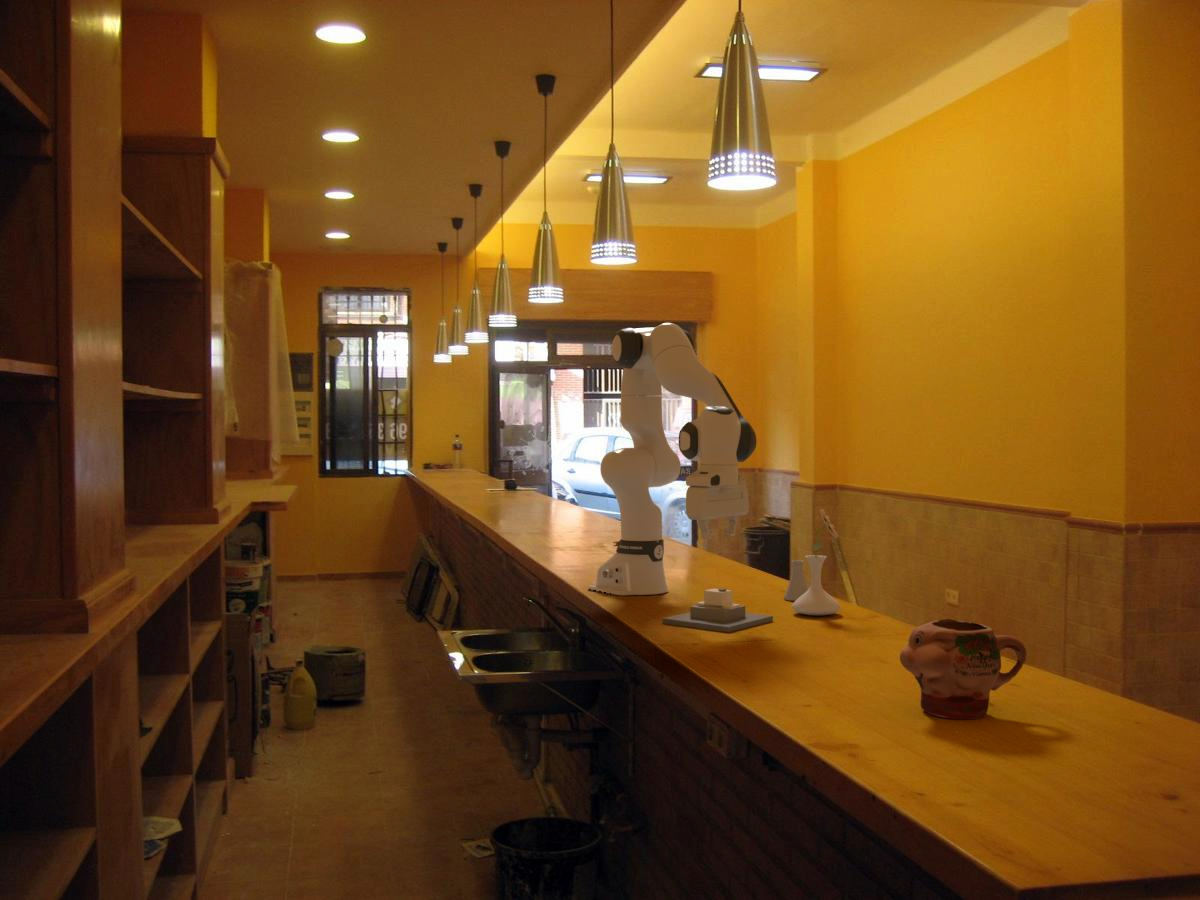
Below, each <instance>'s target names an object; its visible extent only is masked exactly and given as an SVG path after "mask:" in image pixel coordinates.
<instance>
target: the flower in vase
mask: <svg viewBox="0 0 1200 900" xmlns="http://www.w3.org/2000/svg"><path fill="white" fill-rule="evenodd" d="M819 513H820V515H821V519H822V520H823V525H822V526H821V529H820V531H819V533H818V536H817V538H816V541H815V542H814V543H813V545H812V546H811V548H810V550H812V551H815V554H810V555H805V558H806V560H807V562H808V564H809V569H810V576H811V577H810V580H811V581H810V586H809V587H808V591H806V592H805V593H804V594H803V595H802V596H800V597H799V598H798V599H797V600H796V601H793V603H792V604H791V608H792V610H793V611H795V612H796V613H799V614H802V615H807V616H829V615H834V614H836V613H838V612H840V610H841V605H840V603H839V602H838V601H837V600H836V599H835V598H834V597H832V596H831V595H830V594H829V593H828V592H827V591H826V590H824V588H823V586H822V581H821V579H822V577H821V576H822V568H823V564H824V562H825V560H826V559H827V555H820V554H819V555H818V550H820V549H821V550H823V551H824V549H825V546H824V544H823V542H822V540H820V536H821V534H822V533H823V530H824V529H825V528H827V530H828V531H829V533H830V534H831V536H832V537H834V538H835V539H838V532H837V531H836V530H835V525H834V524H833V523H831V520H830V516H829V515H827V514H826V511H825V509H824V508H820V509H819Z"/></svg>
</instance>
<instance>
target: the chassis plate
mask: <svg viewBox="0 0 1200 900" xmlns="http://www.w3.org/2000/svg"><path fill="white" fill-rule="evenodd" d="M689 608H690V609H689V612H685V613H682V614H676V615H672V616H668V617H663V618H662V625H663V624H665V625H670V626H677V627H684V628H691V629H692V628H693V629H699V630H708V631H714V632H721V633H727V634H728V633H731V632H735V631H740V630H743V629H744V630H745V629H747V628H751V627H756V626H759V625H764V624H767V623H771V622H774V616H773V615H769V614H760V613H752V612H751V613H750V612H746V605H741V604H740V607H739V608H735V609H715V608H707V607H704V606H698V605H696V604H695V605H691V606H690V607H689Z"/></svg>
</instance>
